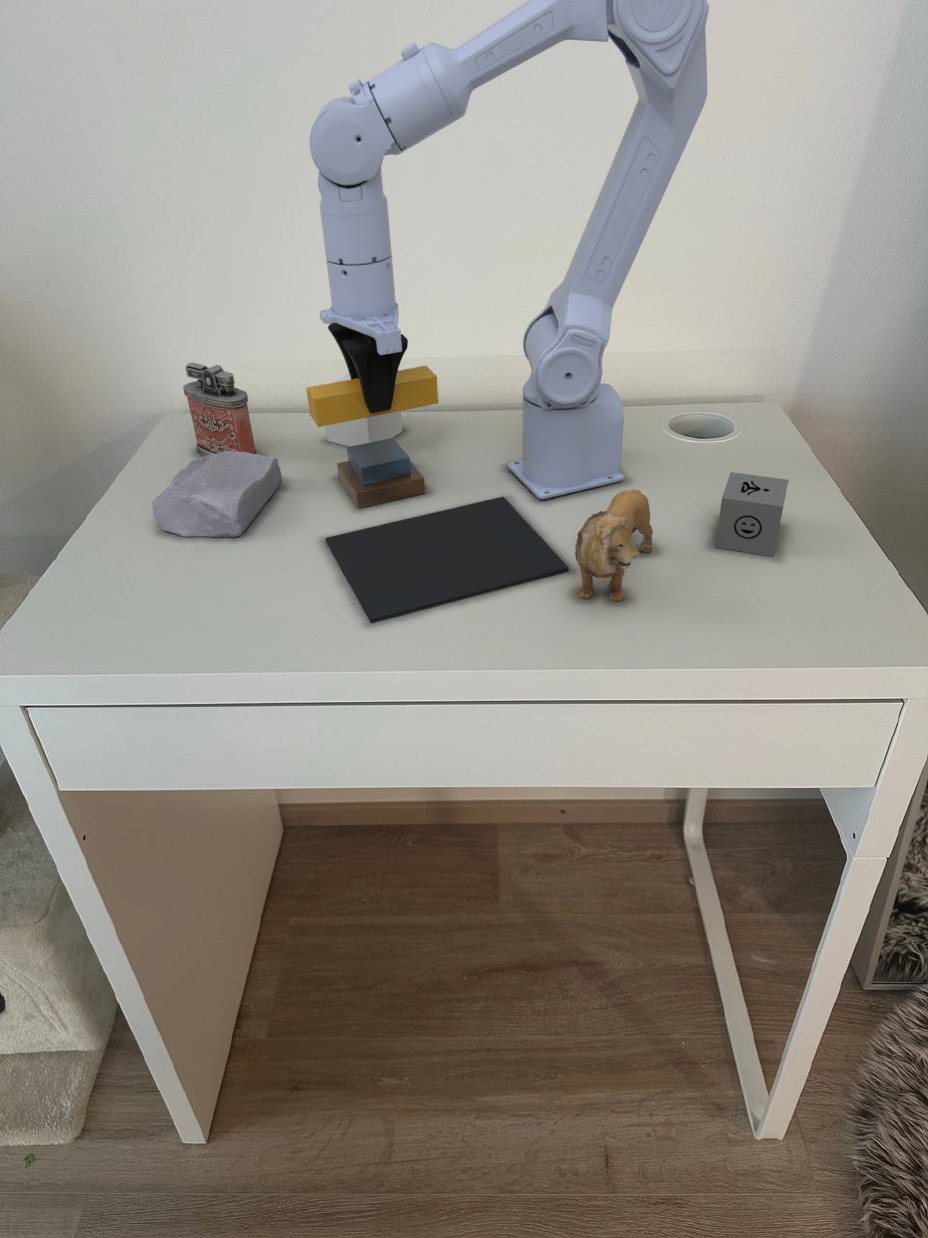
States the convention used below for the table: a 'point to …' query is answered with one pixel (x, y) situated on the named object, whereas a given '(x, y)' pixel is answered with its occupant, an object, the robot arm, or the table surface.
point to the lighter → (218, 411)
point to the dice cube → (751, 513)
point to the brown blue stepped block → (379, 473)
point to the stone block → (217, 494)
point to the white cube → (364, 428)
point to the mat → (442, 558)
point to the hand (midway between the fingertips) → (374, 403)
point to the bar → (349, 403)
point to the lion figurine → (612, 542)
